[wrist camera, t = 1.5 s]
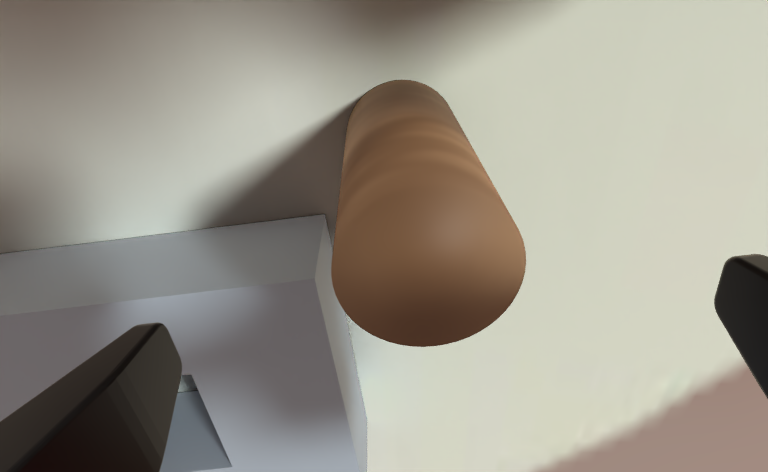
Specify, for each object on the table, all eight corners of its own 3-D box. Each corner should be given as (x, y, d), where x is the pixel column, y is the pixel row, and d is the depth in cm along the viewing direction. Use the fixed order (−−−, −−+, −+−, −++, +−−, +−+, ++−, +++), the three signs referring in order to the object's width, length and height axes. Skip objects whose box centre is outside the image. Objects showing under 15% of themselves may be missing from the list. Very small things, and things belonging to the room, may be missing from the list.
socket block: (324, 214, 17) (314, 278, 14) (367, 420, 23) (367, 503, 19) (-53, 260, 18) (-156, 334, 14) (78, 451, 23) (27, 538, 20)
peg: (453, 72, 15) (529, 171, 8) (458, 179, 17) (523, 335, 10) (338, 87, 15) (313, 198, 8) (355, 192, 17) (347, 355, 10)
